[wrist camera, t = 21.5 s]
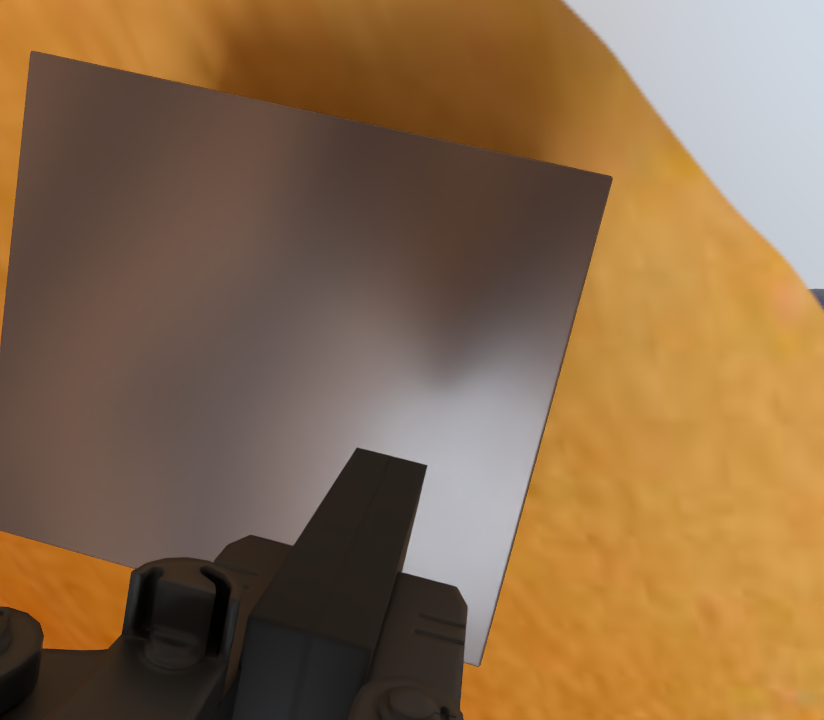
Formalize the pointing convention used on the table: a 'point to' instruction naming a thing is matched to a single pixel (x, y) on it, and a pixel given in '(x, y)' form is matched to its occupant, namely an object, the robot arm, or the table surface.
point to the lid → (275, 323)
